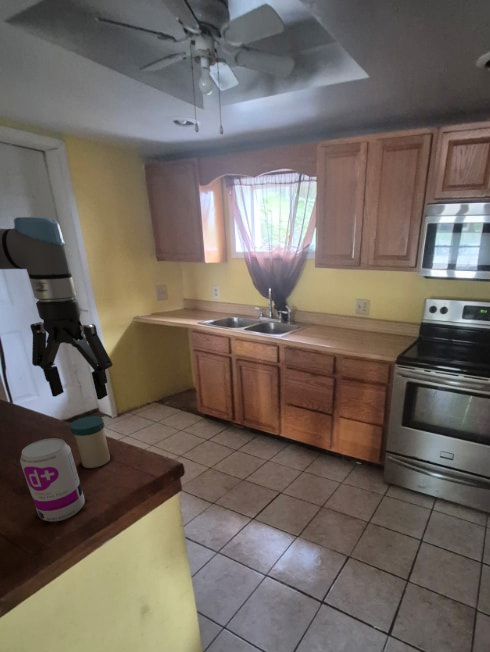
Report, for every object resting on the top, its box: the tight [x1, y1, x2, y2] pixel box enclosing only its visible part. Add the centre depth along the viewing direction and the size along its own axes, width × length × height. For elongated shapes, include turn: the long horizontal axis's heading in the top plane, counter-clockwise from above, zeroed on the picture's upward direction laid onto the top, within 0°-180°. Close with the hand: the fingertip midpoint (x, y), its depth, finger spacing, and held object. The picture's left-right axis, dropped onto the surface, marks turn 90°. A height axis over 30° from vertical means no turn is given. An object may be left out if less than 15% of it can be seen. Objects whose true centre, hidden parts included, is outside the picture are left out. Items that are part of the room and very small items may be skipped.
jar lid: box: [70, 415, 106, 436], centre depth 90 cm, size 7×7×2 cm
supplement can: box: [19, 437, 86, 522], centre depth 74 cm, size 8×8×15 cm
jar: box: [73, 427, 111, 469], centre depth 92 cm, size 6×6×10 cm
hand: (80, 395), depth 87 cm, fingers open, 11 cm apart
